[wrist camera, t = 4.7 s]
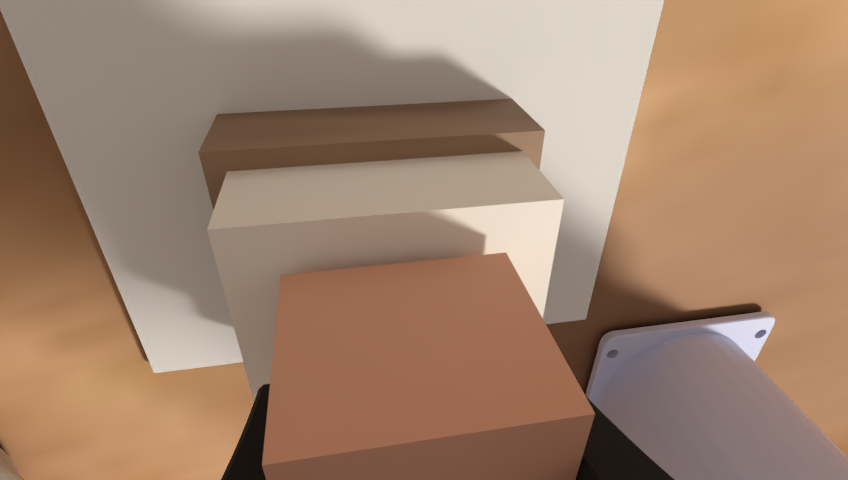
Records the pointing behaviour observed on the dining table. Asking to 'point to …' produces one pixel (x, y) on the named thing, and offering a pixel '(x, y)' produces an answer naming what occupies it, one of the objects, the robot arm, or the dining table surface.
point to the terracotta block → (419, 377)
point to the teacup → (8, 468)
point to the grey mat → (312, 89)
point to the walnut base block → (365, 136)
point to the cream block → (373, 228)
